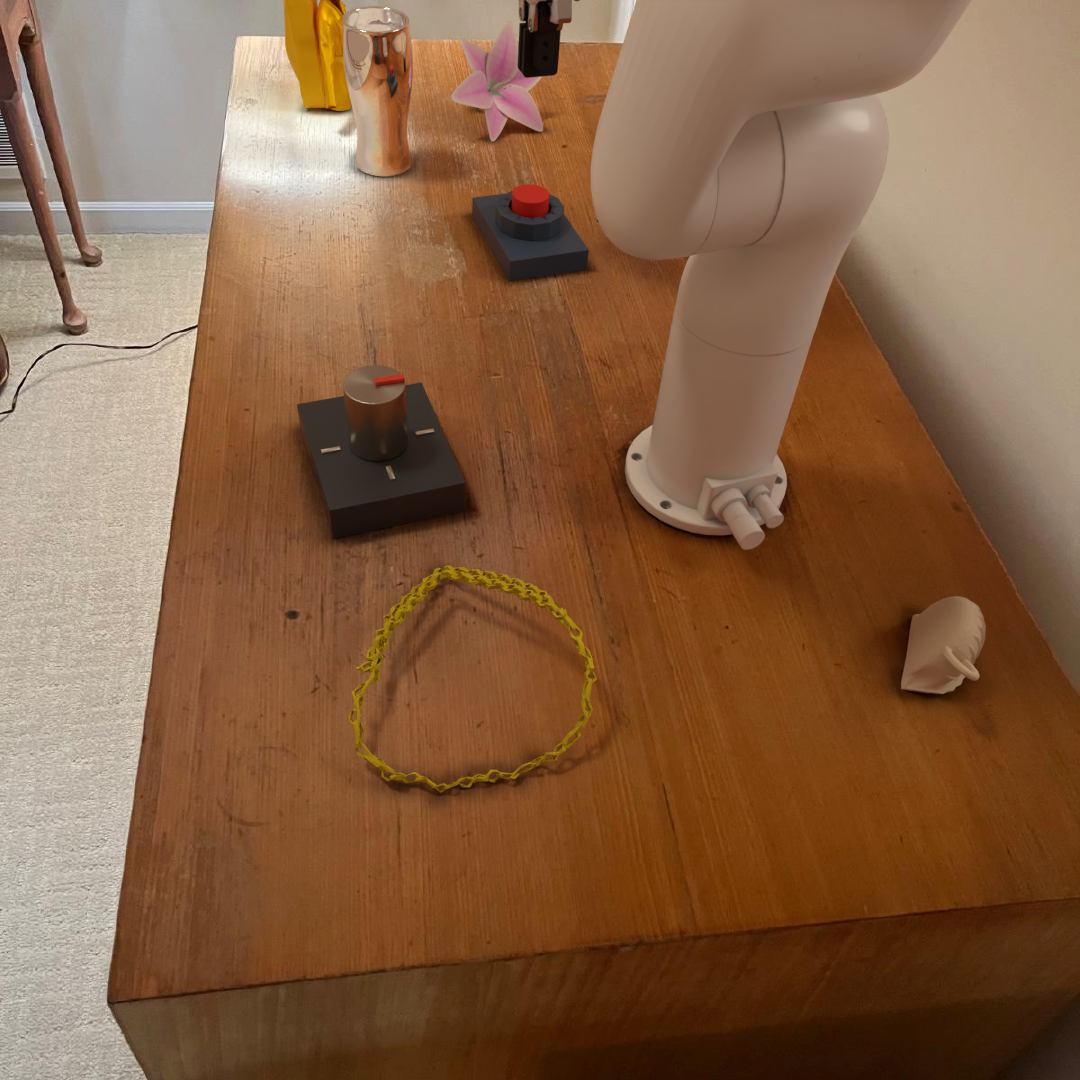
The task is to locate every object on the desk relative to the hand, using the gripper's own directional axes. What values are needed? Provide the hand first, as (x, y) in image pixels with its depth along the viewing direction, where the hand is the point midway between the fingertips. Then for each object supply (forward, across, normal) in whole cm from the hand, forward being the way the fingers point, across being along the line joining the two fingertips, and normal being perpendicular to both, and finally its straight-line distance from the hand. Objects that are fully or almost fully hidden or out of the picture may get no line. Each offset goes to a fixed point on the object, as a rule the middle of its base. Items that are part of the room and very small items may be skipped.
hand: (537, 72), depth 90 cm
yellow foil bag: (+17, -35, -13) cm, 41 cm away
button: (+13, 0, 0) cm, 13 cm away
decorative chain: (+17, +48, -22) cm, 56 cm away
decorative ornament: (+17, +57, +9) cm, 60 cm away
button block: (+17, 0, 0) cm, 17 cm away
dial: (+14, +28, -22) cm, 38 cm away
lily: (+17, -25, +5) cm, 31 cm away
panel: (+17, +28, -22) cm, 39 cm away
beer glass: (+17, -19, -10) cm, 27 cm away
